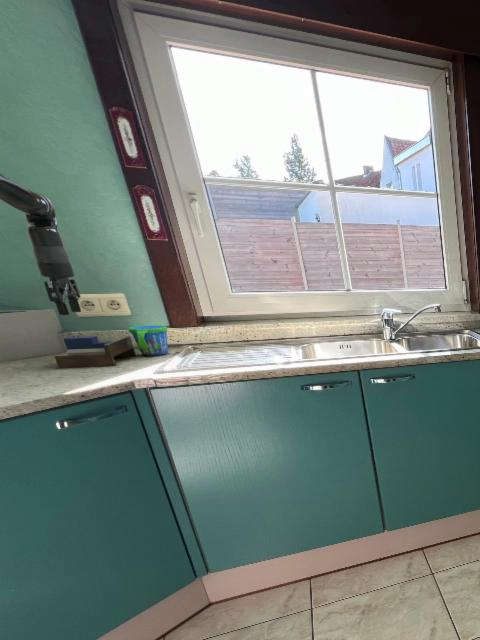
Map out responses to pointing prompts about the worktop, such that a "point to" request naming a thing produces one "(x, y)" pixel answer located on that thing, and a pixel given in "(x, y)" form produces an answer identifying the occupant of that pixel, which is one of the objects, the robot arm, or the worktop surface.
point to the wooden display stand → (97, 355)
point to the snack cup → (151, 339)
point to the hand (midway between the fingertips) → (70, 313)
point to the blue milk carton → (84, 344)
